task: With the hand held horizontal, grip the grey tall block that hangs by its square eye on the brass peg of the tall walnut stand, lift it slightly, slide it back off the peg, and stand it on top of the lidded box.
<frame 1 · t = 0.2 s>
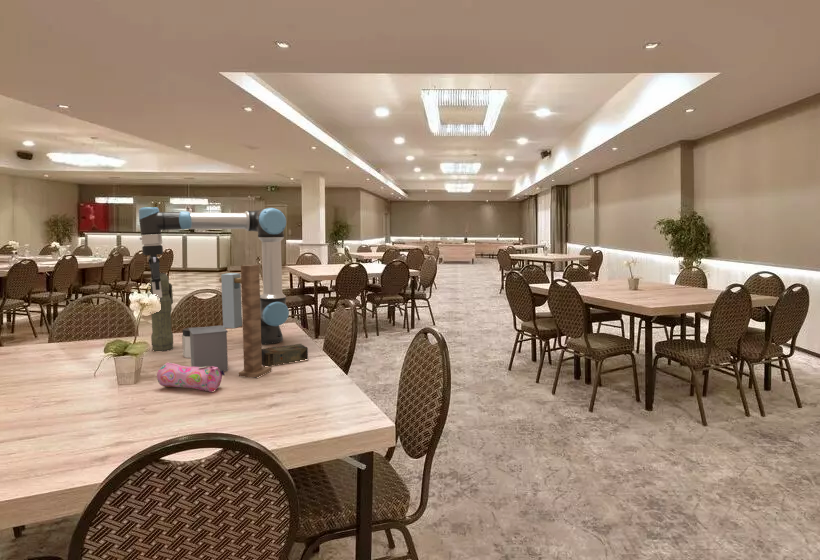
hand: (157, 296, 209), 27 cm above the table, tool pointing down, fingers open, 13 cm apart
pencil case: (191, 389, 176), on the table
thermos: (163, 349, 231), on the table
lidded box: (209, 369, 200), on the table
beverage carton: (283, 362, 211), on the table
grey tall block: (232, 326, 195), point 18 cm above the table, touching walnut stand
jar: (193, 356, 220), on the table
walnut stand: (253, 373, 194), on the table
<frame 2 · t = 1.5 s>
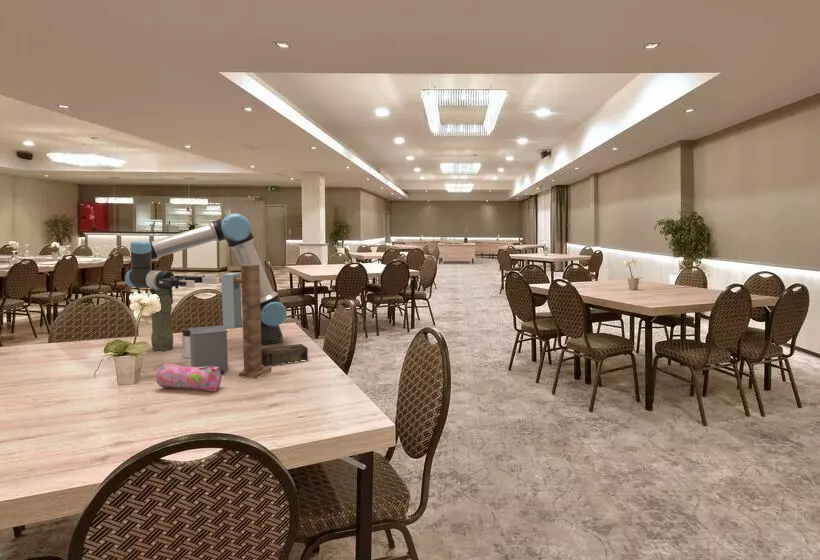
hand: (205, 282, 201), 34 cm above the table, tool horizontal, fingers open, 13 cm apart
nothing on the table moved.
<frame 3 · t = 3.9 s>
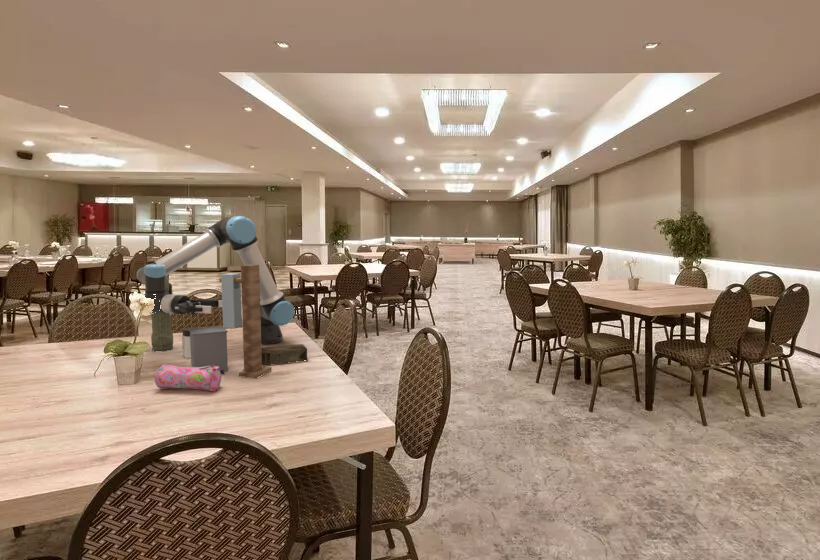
hand: (222, 307, 194), 25 cm above the table, tool horizontal, fingers open, 13 cm apart
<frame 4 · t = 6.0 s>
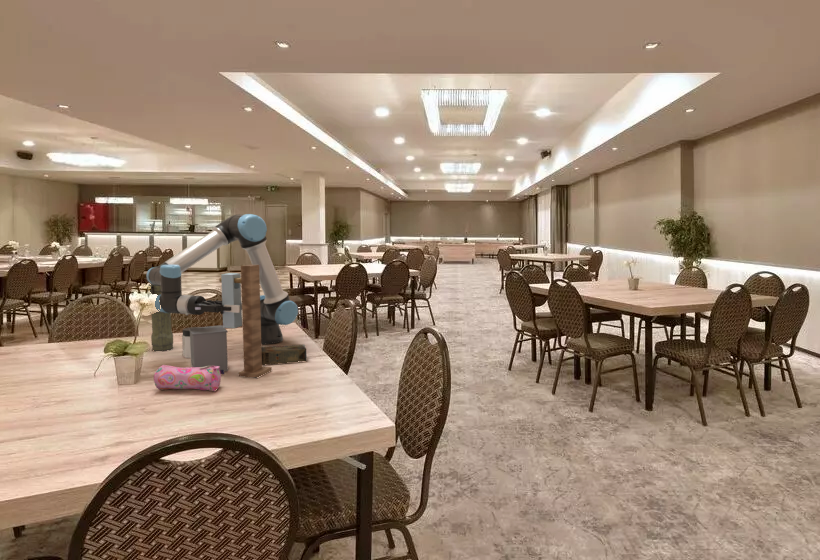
hand: (243, 307, 192), 25 cm above the table, tool horizontal, fingers closed on grey tall block, 5 cm apart
grey tall block: (232, 326, 195), point 18 cm above the table, touching gripper, walnut stand
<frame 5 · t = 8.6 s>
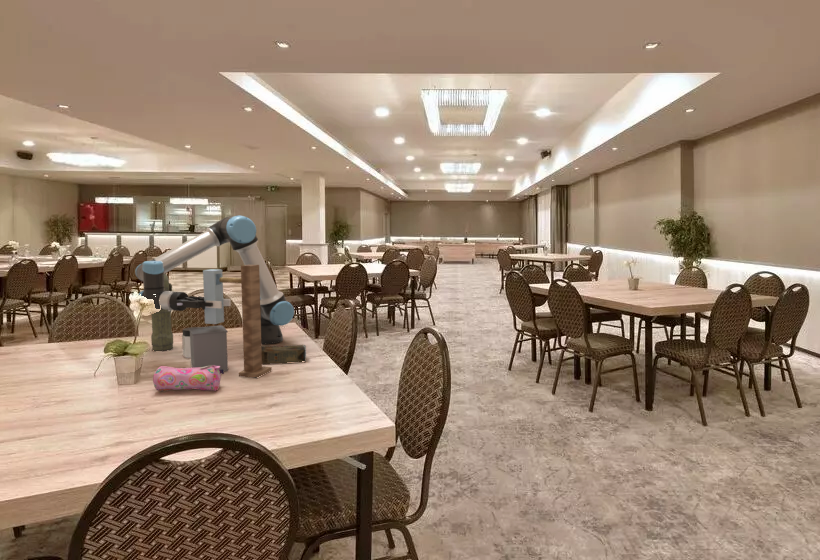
hand: (225, 303, 194), 27 cm above the table, tool horizontal, fingers closed on grey tall block, 5 cm apart
grey tall block: (214, 322, 196), point 19 cm above the table, touching gripper
when the fingers open (24 cm above the table, at t = 11.2 s): grey tall block stays where it is, resting on lidded box.
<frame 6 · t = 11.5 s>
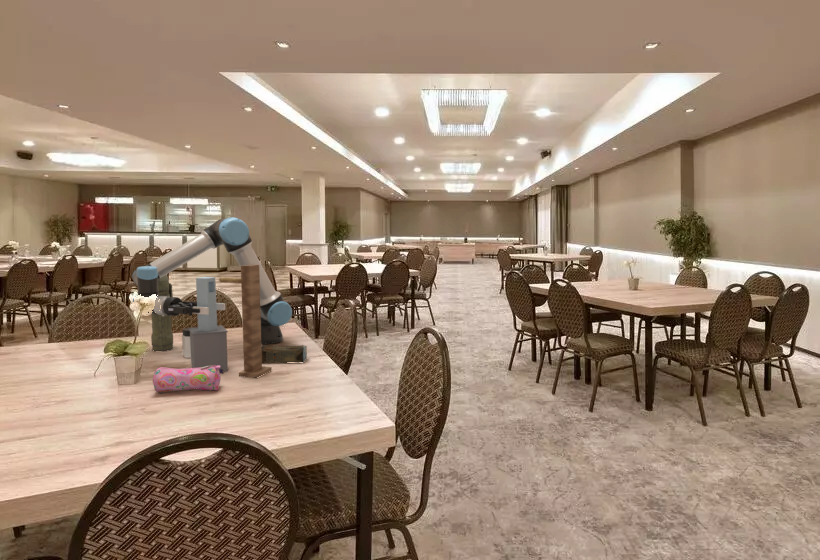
hand: (216, 308, 196), 24 cm above the table, tool horizontal, fingers open, 9 cm apart
grey tall block: (207, 329, 198), point 16 cm above the table, touching lidded box
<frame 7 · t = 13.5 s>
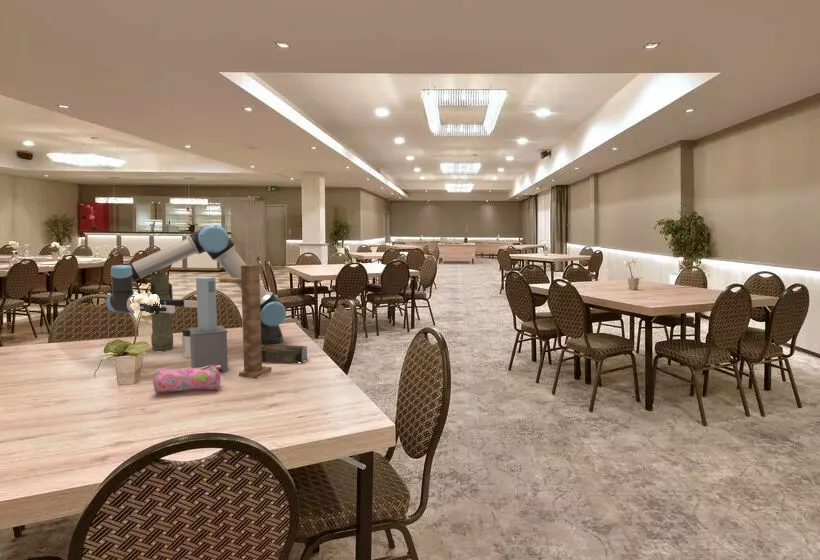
hand: (186, 306, 199), 25 cm above the table, tool horizontal, fingers open, 13 cm apart
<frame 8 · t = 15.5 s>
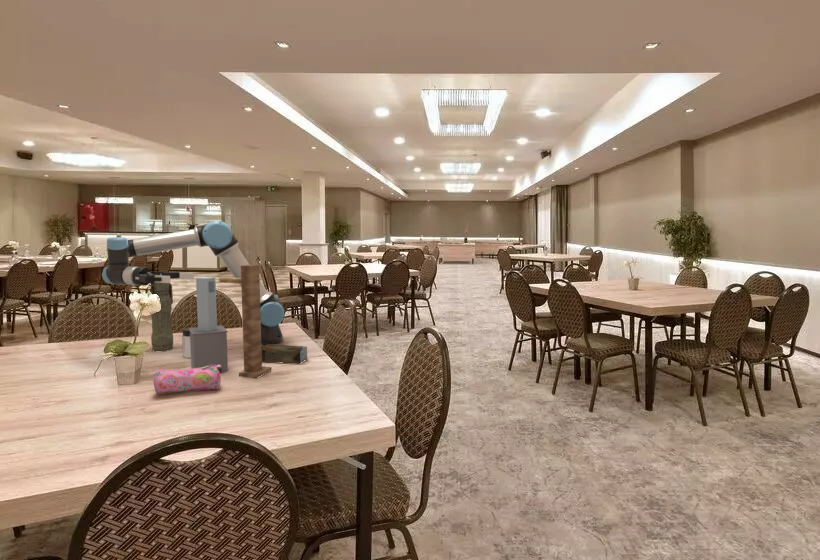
hand: (182, 277, 200), 36 cm above the table, tool horizontal, fingers open, 13 cm apart
at the end: grey tall block inside the target area on the lidded box (0.0 cm from its centre), point 16.0 cm above the lidded box's base; grey tall block tilted 0°; the gripper is holding nothing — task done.
